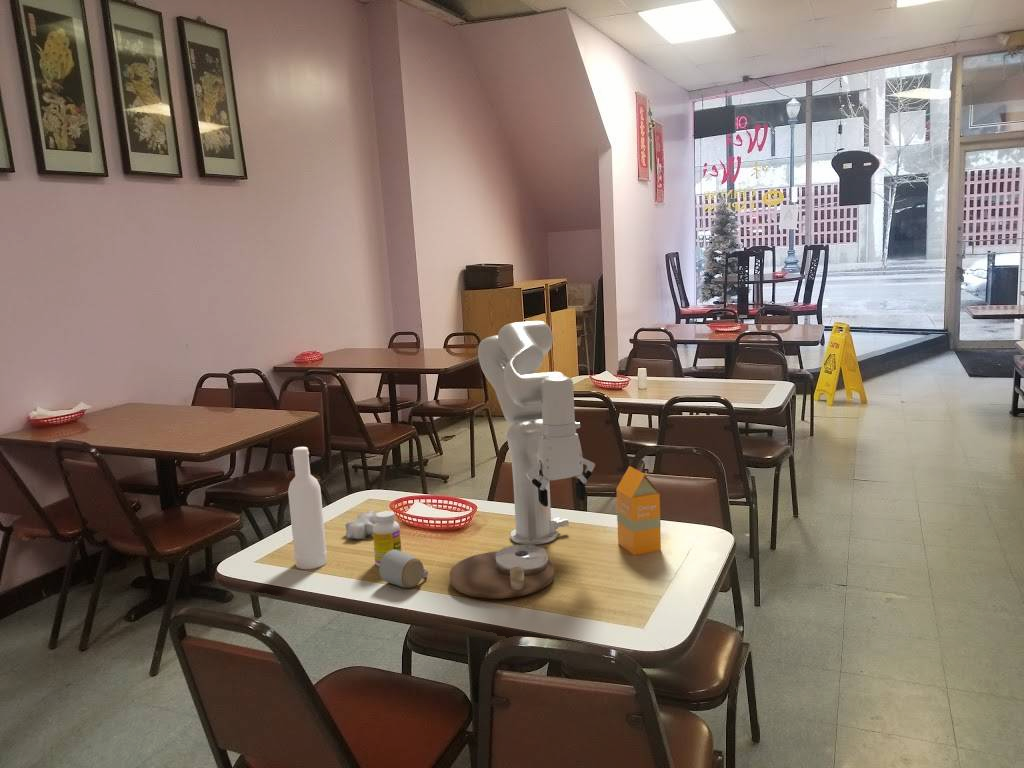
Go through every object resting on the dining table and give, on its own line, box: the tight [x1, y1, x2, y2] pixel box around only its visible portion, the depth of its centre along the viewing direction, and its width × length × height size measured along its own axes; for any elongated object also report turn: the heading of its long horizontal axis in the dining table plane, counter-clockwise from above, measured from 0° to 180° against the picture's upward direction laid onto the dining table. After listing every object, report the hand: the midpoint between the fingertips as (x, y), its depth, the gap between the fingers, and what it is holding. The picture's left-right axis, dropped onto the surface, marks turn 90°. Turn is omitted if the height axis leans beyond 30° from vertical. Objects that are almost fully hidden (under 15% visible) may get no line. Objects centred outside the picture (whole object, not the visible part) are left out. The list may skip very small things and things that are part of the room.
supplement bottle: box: [372, 510, 402, 567], centre depth 192 cm, size 7×7×13 cm
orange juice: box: [615, 465, 662, 556], centre depth 194 cm, size 8×9×20 cm
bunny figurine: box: [345, 509, 377, 540], centre depth 217 cm, size 10×5×15 cm
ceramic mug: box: [378, 550, 429, 589], centre depth 180 cm, size 11×8×8 cm
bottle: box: [287, 446, 328, 570], centre depth 193 cm, size 8×8×30 cm
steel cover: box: [496, 544, 549, 576], centre depth 180 cm, size 12×12×3 cm
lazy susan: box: [449, 550, 555, 600], centre depth 178 cm, size 24×24×6 cm
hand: (562, 501), depth 182 cm, fingers open, 8 cm apart
